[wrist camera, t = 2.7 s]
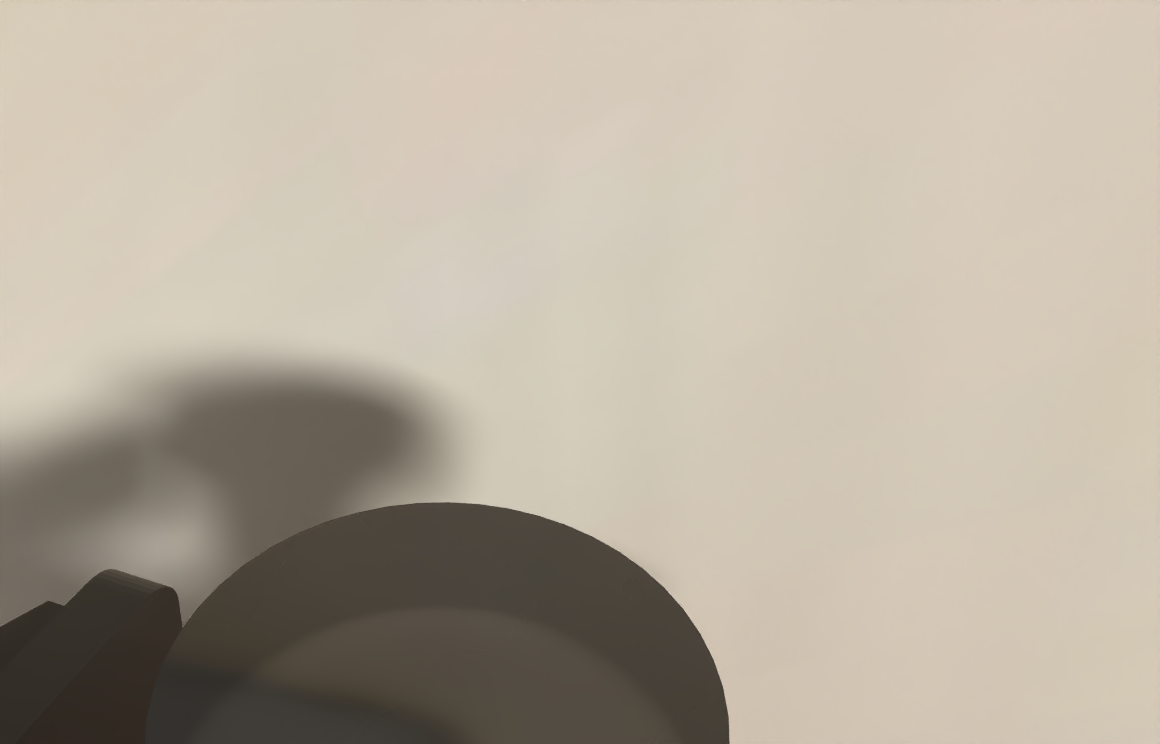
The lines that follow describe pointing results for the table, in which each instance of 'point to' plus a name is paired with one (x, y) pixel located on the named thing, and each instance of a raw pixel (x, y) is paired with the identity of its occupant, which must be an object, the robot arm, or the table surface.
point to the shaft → (439, 641)
